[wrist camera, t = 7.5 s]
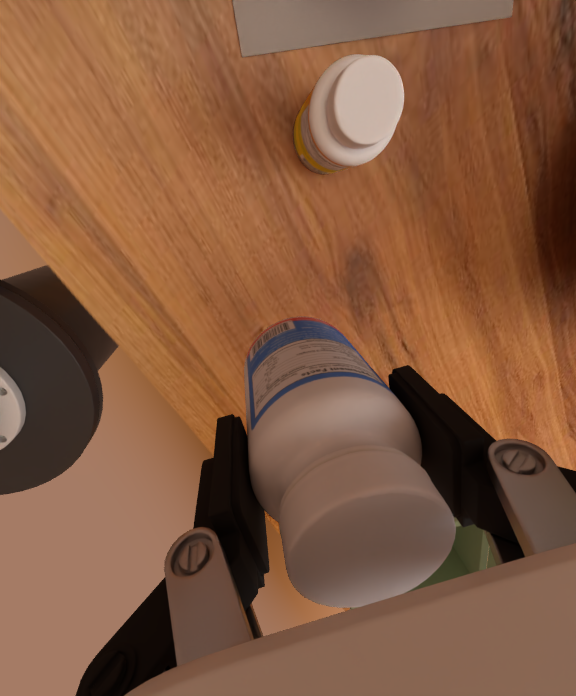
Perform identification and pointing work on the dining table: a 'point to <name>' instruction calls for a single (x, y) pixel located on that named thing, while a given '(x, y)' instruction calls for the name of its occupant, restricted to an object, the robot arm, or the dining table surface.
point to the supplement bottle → (349, 114)
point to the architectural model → (349, 20)
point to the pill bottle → (339, 468)
